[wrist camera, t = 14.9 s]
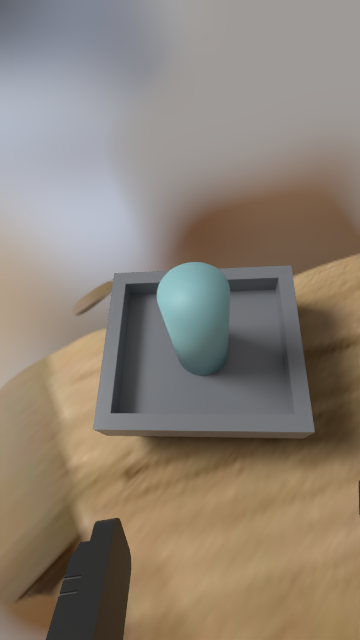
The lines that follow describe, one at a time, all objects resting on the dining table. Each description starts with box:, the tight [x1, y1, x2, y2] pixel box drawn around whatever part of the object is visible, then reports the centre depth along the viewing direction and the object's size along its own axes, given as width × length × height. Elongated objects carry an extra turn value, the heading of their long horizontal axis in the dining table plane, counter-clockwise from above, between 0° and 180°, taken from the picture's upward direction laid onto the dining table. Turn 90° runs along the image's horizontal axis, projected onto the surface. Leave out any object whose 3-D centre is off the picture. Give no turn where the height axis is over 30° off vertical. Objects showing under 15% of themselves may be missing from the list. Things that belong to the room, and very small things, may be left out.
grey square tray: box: [93, 266, 315, 439], centre depth 30 cm, size 16×14×6 cm
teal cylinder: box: [157, 262, 230, 376], centre depth 25 cm, size 4×4×10 cm
